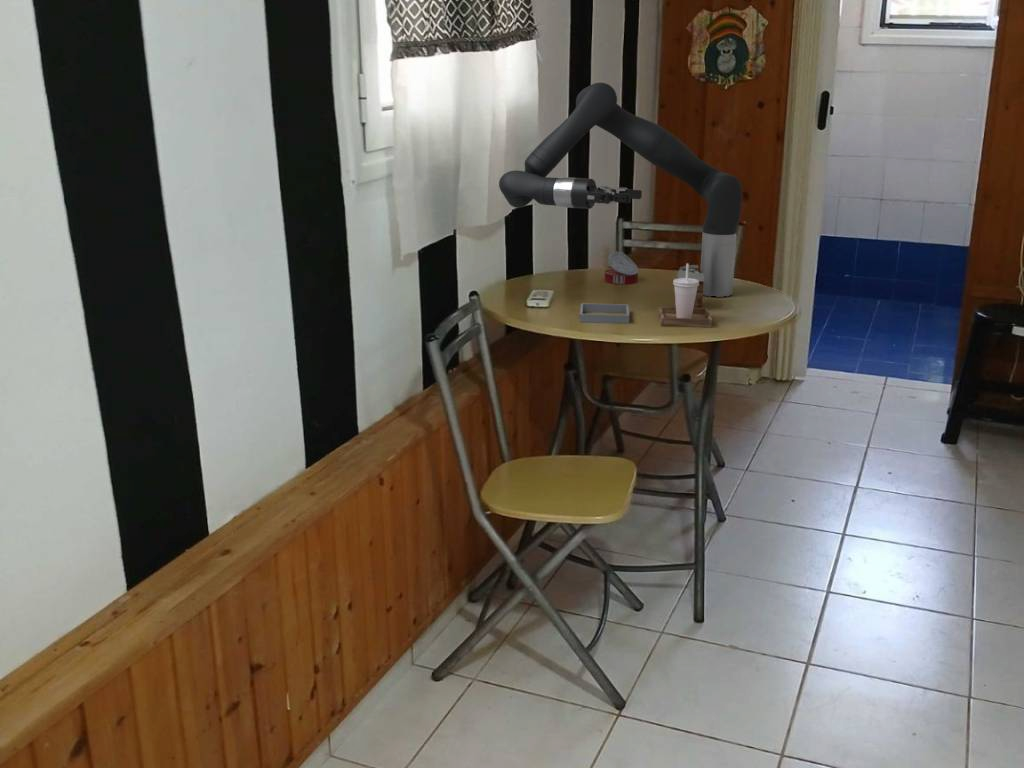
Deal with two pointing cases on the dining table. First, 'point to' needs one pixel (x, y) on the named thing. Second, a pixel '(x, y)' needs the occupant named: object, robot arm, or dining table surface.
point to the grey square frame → (604, 317)
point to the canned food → (621, 270)
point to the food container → (697, 275)
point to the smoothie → (685, 295)
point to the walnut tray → (698, 318)
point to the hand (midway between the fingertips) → (635, 196)
